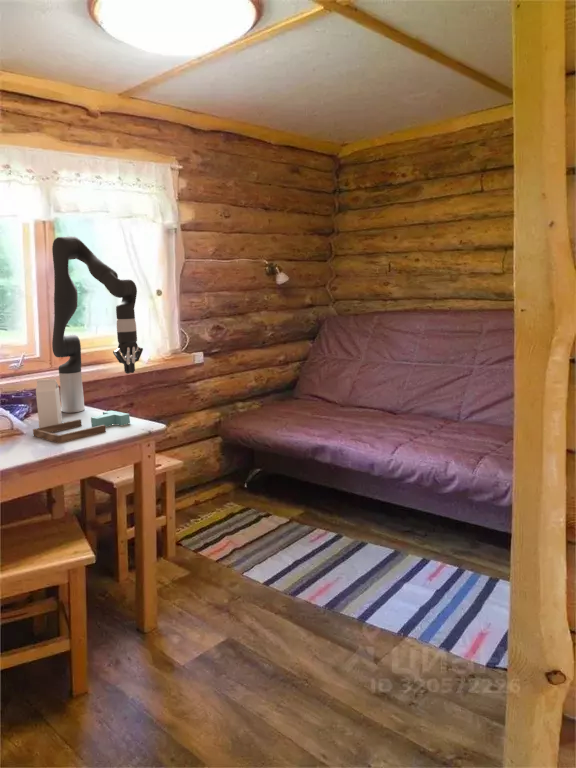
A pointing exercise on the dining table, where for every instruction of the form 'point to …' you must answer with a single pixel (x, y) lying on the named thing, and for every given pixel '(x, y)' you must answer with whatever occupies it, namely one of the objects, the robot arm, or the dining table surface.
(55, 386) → the milk carton
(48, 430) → the bay
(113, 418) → the T-block
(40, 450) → the dining table surface
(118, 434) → the dining table surface
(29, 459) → the dining table surface
